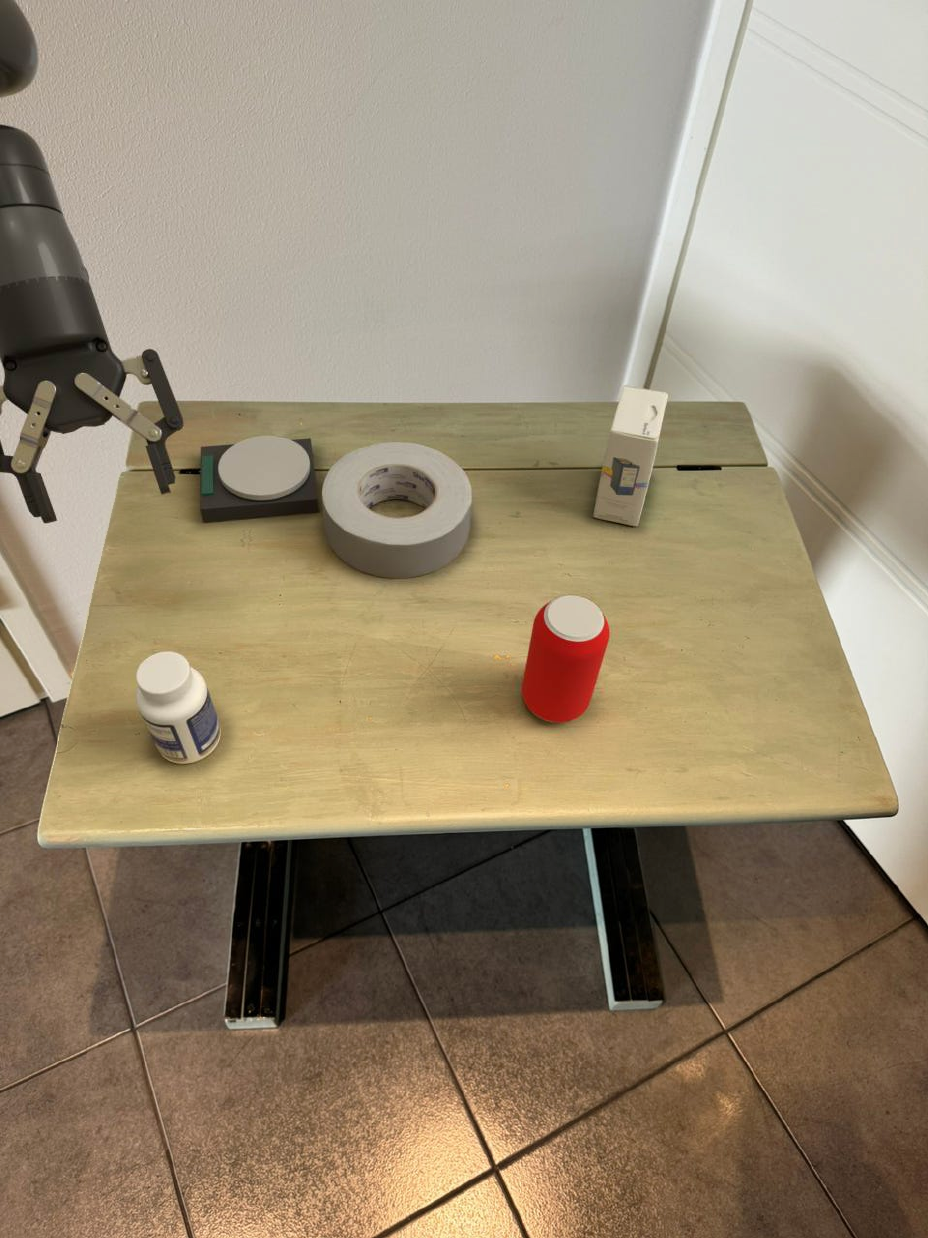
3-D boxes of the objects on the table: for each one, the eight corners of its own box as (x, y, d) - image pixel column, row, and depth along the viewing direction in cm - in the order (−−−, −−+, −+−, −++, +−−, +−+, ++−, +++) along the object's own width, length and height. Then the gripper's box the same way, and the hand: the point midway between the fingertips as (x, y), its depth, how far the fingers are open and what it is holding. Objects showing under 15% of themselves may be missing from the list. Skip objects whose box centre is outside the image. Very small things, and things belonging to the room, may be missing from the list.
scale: (203, 523, 87) (197, 501, 85) (204, 460, 93) (198, 439, 91) (319, 512, 89) (316, 491, 87) (312, 451, 95) (310, 430, 93)
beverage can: (530, 664, 78) (546, 578, 68) (595, 683, 77) (620, 598, 67) (512, 717, 74) (526, 633, 65) (580, 737, 73) (605, 656, 64)
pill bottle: (212, 702, 73) (189, 634, 66) (229, 751, 70) (207, 686, 63) (150, 723, 72) (119, 656, 64) (164, 775, 69) (134, 711, 61)
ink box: (636, 528, 90) (662, 441, 81) (589, 518, 90) (610, 430, 81) (647, 478, 95) (672, 391, 86) (603, 468, 96) (623, 381, 87)
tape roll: (497, 518, 90) (502, 482, 86) (409, 602, 82) (409, 567, 78) (387, 458, 95) (386, 422, 91) (293, 532, 87) (288, 496, 83)
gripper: (-90, 295, 55) (-1, 533, 58) (131, 255, 59) (203, 481, 62) (-57, 321, 62) (20, 532, 65) (138, 284, 66) (203, 485, 69)
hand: (109, 507), depth 63 cm, fingers open, 8 cm apart
